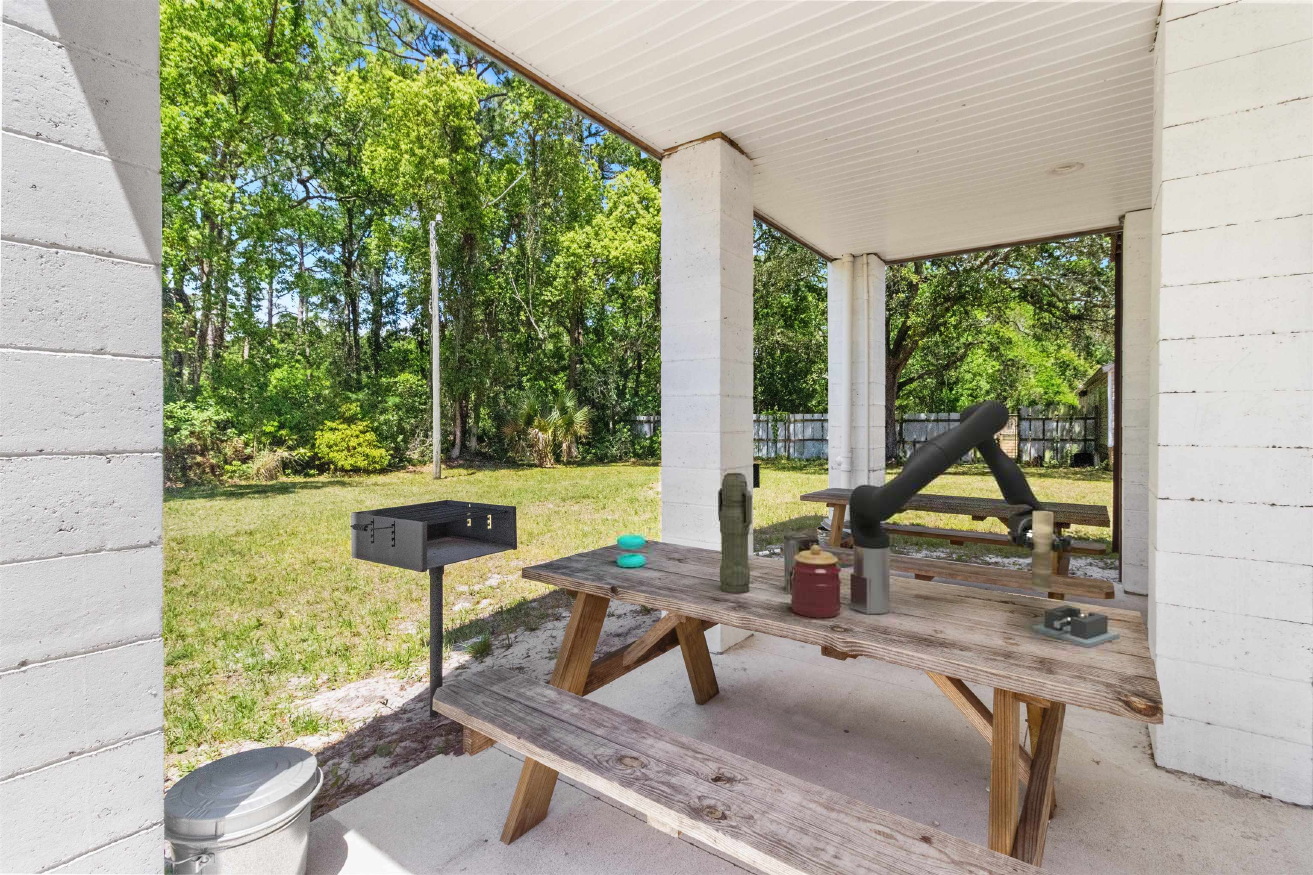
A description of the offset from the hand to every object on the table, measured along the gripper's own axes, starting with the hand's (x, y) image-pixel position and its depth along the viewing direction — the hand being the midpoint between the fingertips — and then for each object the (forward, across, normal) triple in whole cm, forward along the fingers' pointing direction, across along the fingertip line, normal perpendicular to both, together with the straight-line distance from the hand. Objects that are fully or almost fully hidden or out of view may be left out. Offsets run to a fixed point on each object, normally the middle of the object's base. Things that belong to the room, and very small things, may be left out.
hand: (1043, 546), depth 135 cm
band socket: (-8, +7, +22) cm, 25 cm away
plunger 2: (-12, +10, +19) cm, 25 cm away
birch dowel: (-3, 0, +10) cm, 11 cm away
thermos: (-6, -77, +22) cm, 80 cm away
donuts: (-18, -120, +22) cm, 123 cm away
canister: (+2, -51, +22) cm, 56 cm away
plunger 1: (-5, +5, +19) cm, 20 cm away
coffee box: (-15, -59, +22) cm, 65 cm away
